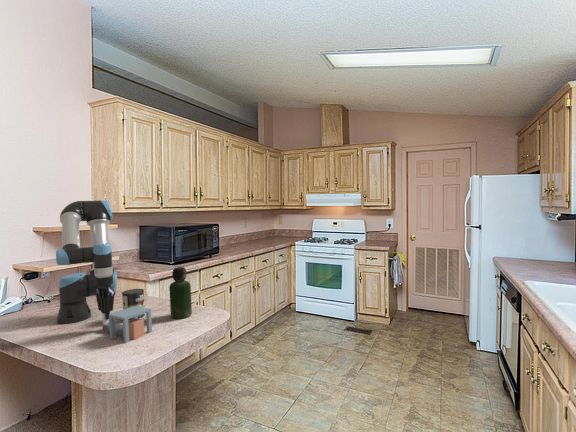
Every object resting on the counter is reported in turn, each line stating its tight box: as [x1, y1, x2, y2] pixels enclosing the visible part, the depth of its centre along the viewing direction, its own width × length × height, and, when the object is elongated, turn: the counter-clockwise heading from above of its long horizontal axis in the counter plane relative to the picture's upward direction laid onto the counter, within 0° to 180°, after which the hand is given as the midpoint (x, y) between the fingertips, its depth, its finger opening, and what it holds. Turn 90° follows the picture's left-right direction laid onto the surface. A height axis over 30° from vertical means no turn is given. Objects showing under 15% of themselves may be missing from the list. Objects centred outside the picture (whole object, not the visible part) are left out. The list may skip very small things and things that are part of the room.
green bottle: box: [168, 266, 193, 320], centre depth 168 cm, size 10×10×25 cm
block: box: [128, 318, 145, 340], centre depth 143 cm, size 5×5×7 cm
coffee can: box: [121, 288, 146, 321], centre depth 167 cm, size 10×10×14 cm
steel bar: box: [101, 323, 124, 337], centre depth 148 cm, size 18×4×3 cm, turn 63°
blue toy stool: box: [109, 306, 153, 343], centre depth 145 cm, size 11×13×10 cm
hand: (106, 325), depth 153 cm, fingers closed
